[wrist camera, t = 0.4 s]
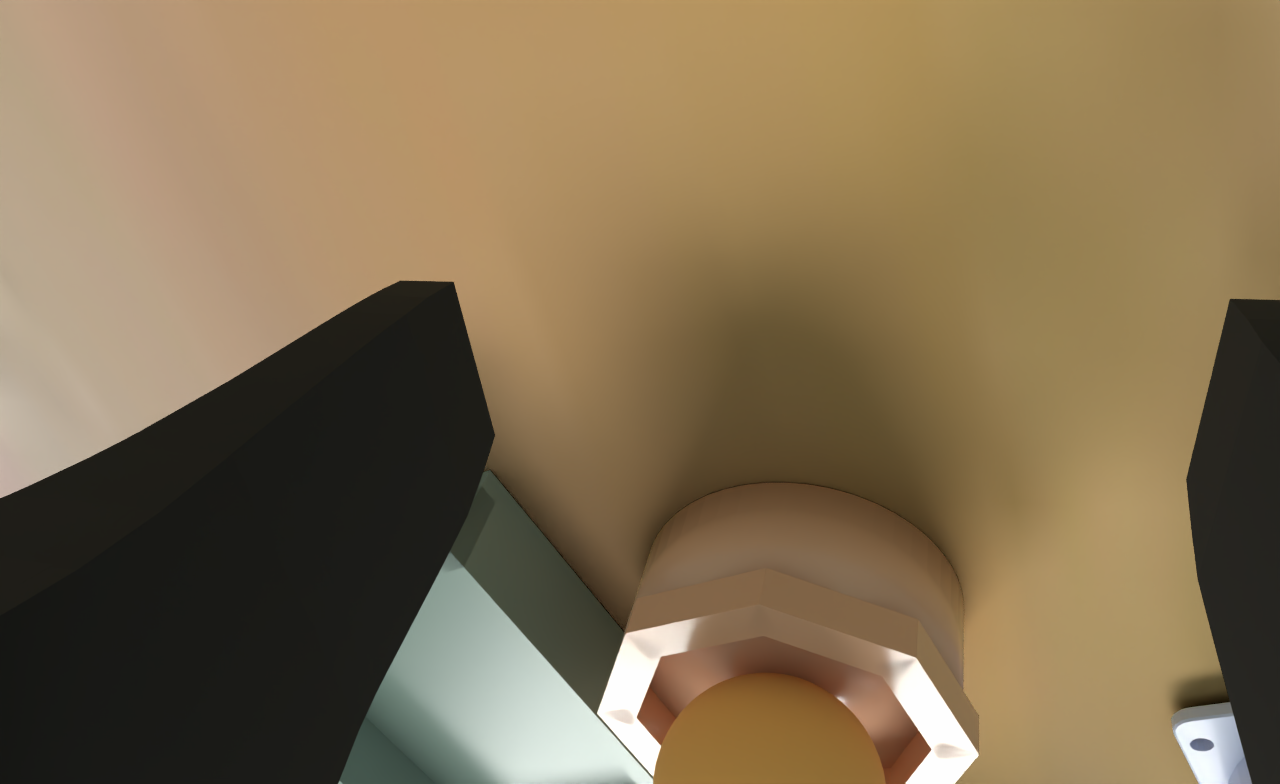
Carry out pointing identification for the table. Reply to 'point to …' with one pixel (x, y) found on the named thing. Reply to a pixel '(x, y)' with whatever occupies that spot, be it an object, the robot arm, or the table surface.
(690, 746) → the ball
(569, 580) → the tray
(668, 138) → the table surface
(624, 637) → the pot
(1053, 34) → the table surface
